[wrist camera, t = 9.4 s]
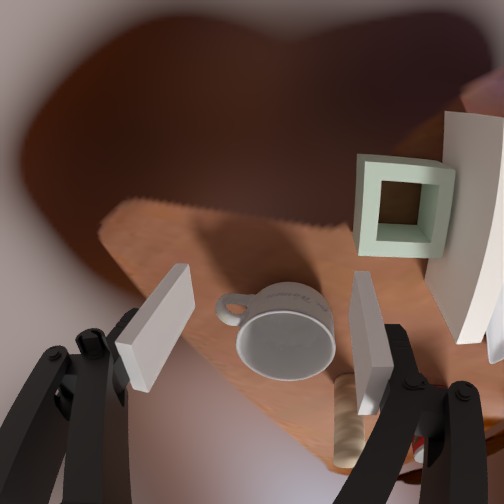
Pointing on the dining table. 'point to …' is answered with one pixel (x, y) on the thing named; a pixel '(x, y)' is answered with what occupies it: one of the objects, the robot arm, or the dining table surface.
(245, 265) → the dining table surface
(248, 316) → the teacup
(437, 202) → the holed block
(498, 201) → the wall
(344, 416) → the dowel
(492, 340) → the salad plate
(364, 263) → the dining table surface
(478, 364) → the dining table surface
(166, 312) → the robot arm
